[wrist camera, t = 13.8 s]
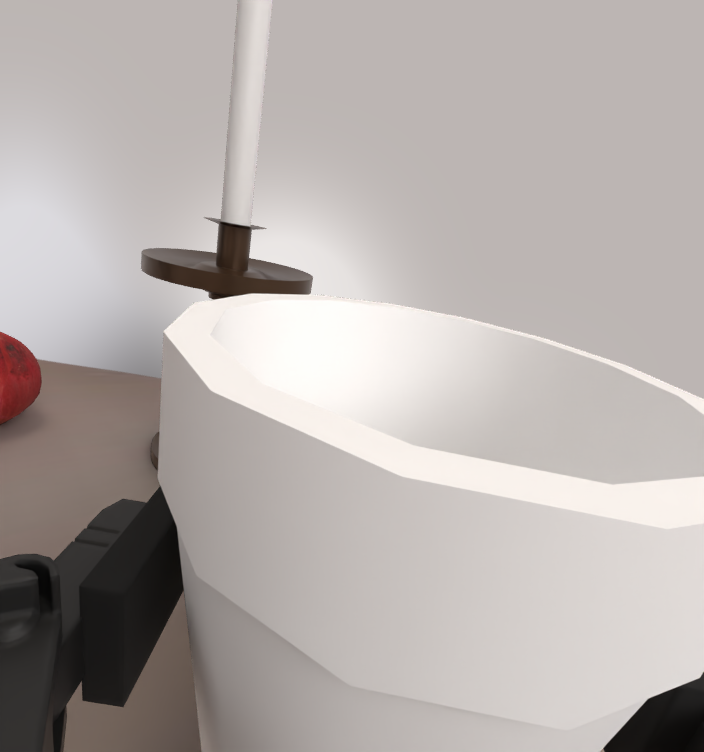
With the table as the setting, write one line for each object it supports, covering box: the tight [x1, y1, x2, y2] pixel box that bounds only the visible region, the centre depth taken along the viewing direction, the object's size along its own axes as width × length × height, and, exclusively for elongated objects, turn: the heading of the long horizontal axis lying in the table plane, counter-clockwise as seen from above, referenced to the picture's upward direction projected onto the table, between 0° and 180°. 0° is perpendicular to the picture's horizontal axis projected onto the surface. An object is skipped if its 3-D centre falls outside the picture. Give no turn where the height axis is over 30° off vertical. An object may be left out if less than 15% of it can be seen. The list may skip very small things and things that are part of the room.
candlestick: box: [141, 0, 313, 470], centre depth 28 cm, size 11×11×35 cm
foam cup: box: [158, 294, 704, 752], centre depth 10 cm, size 10×9×13 cm
